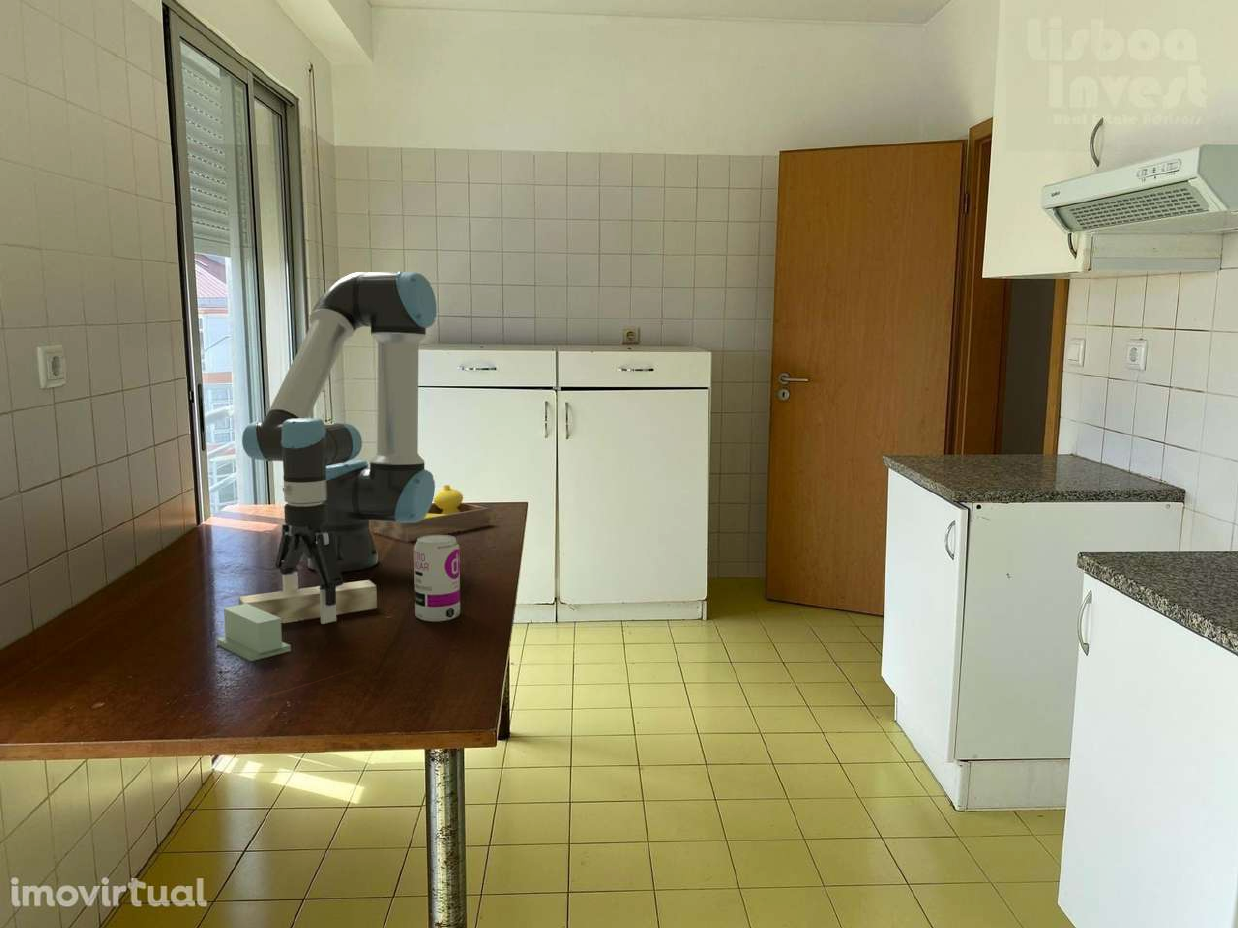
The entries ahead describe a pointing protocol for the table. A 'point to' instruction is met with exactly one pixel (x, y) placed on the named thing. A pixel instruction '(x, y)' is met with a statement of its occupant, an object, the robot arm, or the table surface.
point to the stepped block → (252, 633)
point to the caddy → (435, 523)
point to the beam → (314, 601)
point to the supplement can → (437, 578)
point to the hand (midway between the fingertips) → (309, 614)
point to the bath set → (447, 501)
